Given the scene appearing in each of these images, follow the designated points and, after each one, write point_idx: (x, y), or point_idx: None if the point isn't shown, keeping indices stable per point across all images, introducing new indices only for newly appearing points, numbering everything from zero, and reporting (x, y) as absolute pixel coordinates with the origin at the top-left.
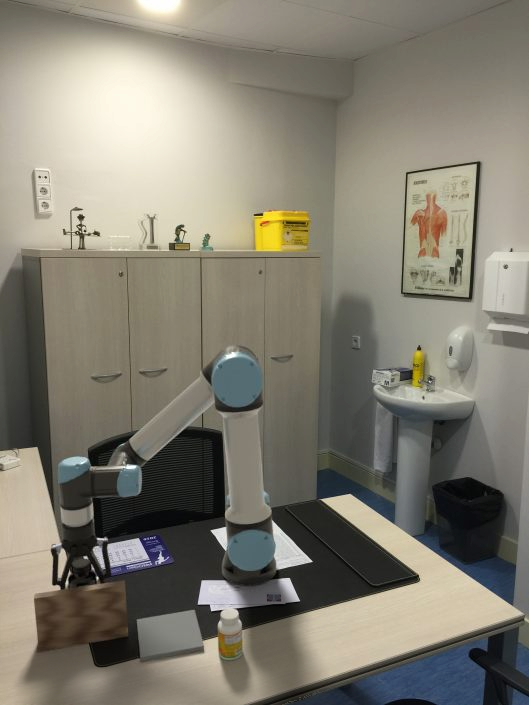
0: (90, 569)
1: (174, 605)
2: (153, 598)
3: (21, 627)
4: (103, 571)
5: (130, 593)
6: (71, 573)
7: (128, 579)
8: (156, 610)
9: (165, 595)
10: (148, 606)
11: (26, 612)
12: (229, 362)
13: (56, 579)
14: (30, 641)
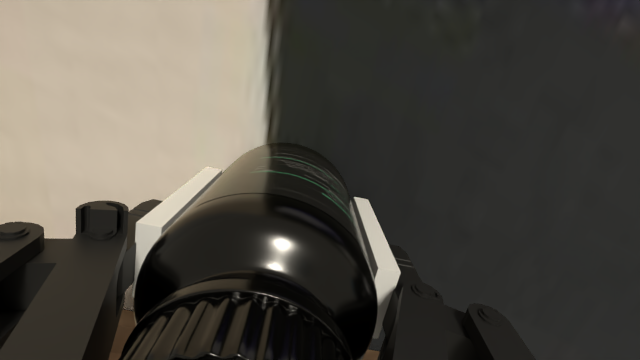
0: None
1: (603, 347)
2: (566, 274)
3: (6, 220)
4: (443, 306)
5: (504, 193)
6: (151, 303)
7: (557, 58)
8: (533, 346)
9: (617, 276)
10: (521, 313)
11: (7, 111)
12: None
13: (4, 340)
14: None
